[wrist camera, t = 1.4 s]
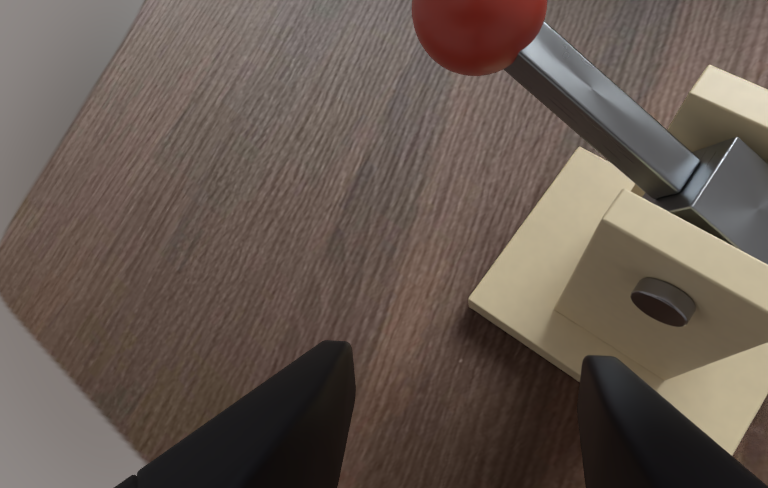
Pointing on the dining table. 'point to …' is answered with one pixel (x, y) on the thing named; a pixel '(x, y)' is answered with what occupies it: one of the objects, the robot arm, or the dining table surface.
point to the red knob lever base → (645, 276)
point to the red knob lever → (603, 115)
